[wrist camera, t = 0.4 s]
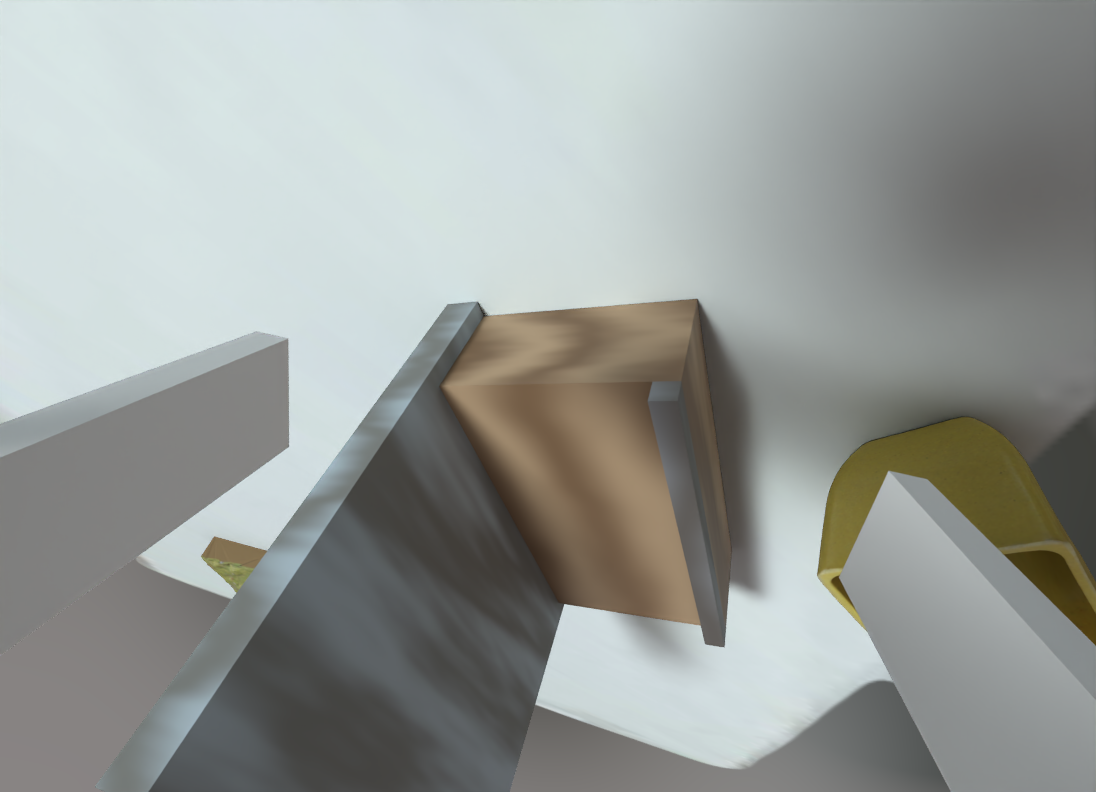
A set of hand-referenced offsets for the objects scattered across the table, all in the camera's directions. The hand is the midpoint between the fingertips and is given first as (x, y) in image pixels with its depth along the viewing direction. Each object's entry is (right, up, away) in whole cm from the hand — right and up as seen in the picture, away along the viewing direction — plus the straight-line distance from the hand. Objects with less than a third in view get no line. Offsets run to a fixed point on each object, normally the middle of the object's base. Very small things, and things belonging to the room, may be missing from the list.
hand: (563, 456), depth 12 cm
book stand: (+3, -2, +24) cm, 24 cm away
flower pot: (+20, -2, +17) cm, 26 cm away
